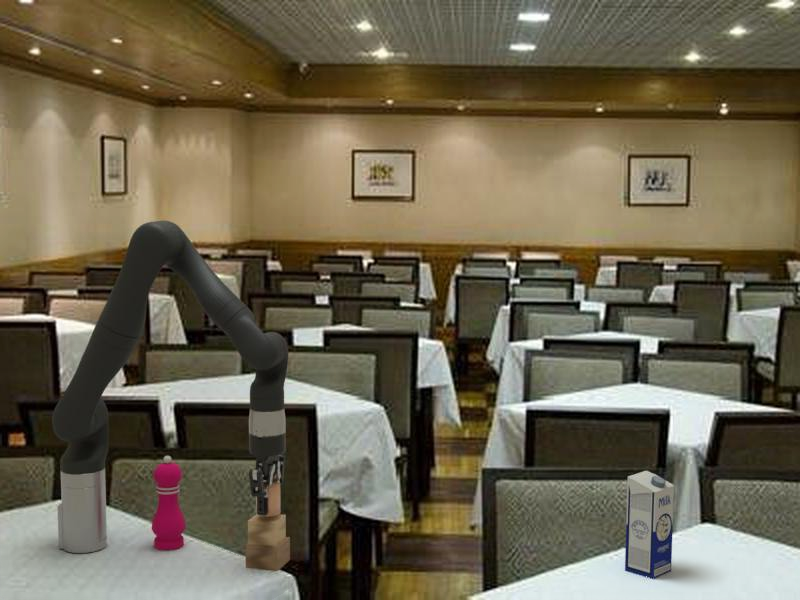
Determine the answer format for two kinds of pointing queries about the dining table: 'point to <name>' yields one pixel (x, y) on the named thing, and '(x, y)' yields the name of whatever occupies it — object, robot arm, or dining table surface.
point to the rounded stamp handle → (273, 499)
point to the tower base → (268, 556)
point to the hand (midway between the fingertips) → (267, 510)
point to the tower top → (266, 530)
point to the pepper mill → (168, 507)
